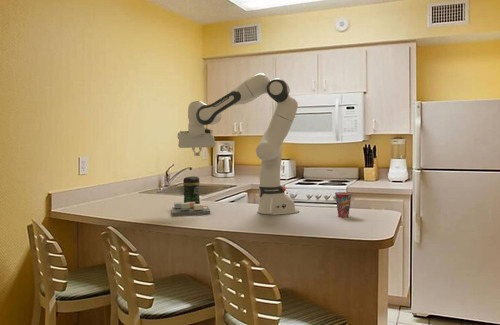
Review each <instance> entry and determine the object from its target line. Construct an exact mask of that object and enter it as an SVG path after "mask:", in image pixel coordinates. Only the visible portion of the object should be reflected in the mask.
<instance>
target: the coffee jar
mask: <svg viewBox="0 0 500 325" xmlns="http://www.w3.org/2000/svg"><path fill="white" fill-rule="evenodd" d="M182 184H183V189H184V190H183V193H184V194H183V203H187V202H195V204H201V201H200V178H199V176H192V175H191V176H187V177H184V178H183V183H182Z"/></svg>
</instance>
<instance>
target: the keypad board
mask: <svg viewBox="0 0 500 325" xmlns="http://www.w3.org/2000/svg"><path fill="white" fill-rule="evenodd" d="M171 212H172V213H171V214H172V217H188V216H189V217H190V216H208V215H211V210H210V208H209V206H208V205H203V210H194V207H192V208H188V209H181V208H175V207H173V206H172V209H171Z"/></svg>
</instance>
